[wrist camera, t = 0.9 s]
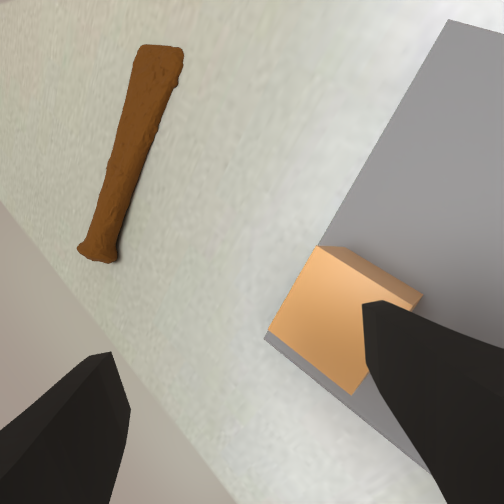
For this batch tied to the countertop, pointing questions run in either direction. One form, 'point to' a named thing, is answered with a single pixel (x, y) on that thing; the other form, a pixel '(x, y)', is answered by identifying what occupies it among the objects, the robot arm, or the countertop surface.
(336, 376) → the wooden cube
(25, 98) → the countertop surface
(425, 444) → the robot arm
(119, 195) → the primitive tool
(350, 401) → the board
